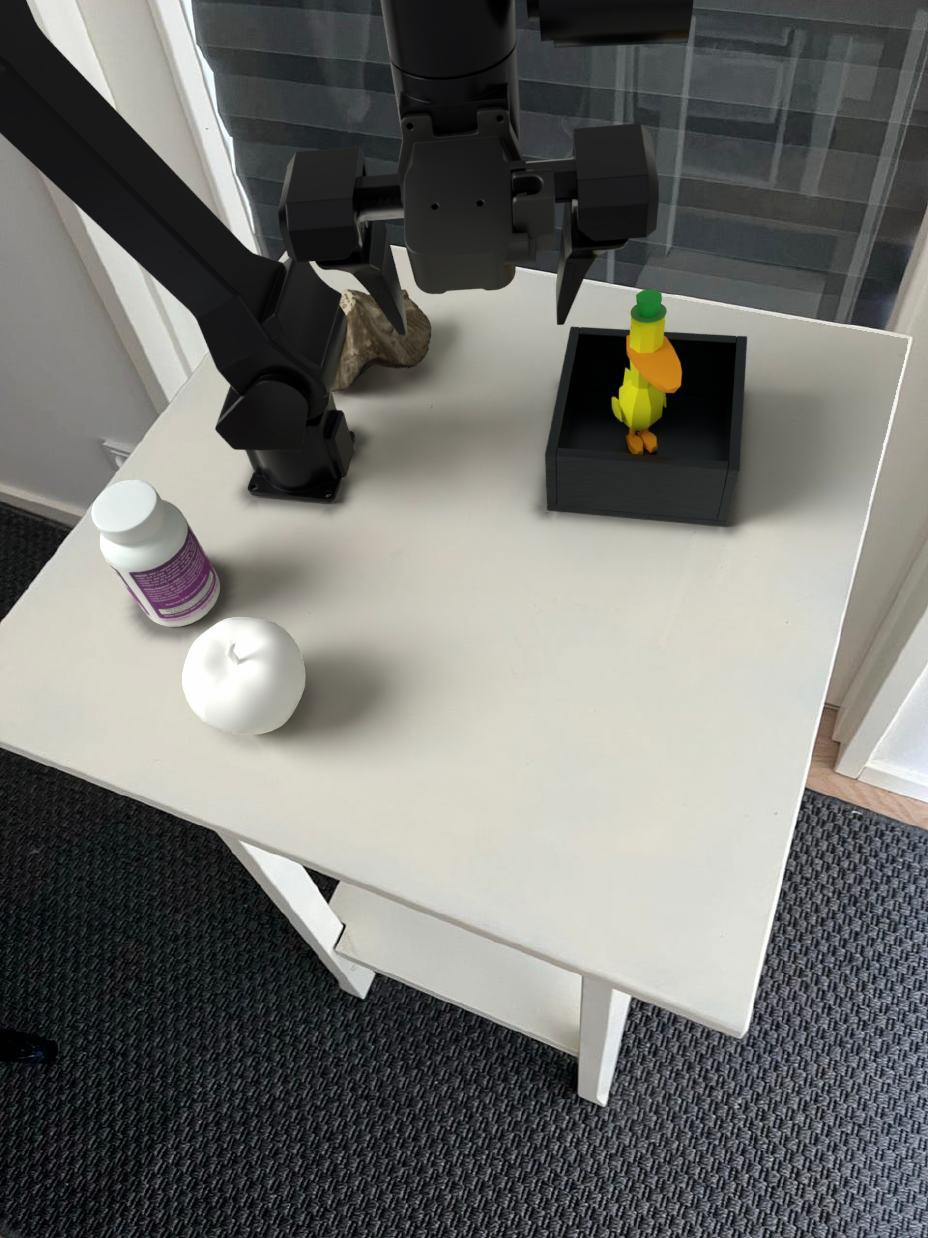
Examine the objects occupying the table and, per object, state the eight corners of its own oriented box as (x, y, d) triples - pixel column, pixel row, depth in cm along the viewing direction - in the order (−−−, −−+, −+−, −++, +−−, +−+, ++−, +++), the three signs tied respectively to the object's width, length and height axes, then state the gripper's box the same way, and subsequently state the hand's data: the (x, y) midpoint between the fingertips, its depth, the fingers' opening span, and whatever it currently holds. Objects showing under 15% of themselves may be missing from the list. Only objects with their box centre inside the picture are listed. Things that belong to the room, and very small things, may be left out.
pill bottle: (234, 570, 63) (184, 476, 55) (202, 636, 60) (145, 547, 52) (164, 557, 64) (105, 463, 56) (129, 621, 61) (62, 532, 53)
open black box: (546, 510, 63) (544, 454, 58) (570, 385, 69) (570, 325, 64) (726, 527, 61) (739, 470, 56) (735, 396, 67) (747, 335, 62)
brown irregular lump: (427, 288, 73) (308, 319, 75) (405, 257, 66) (275, 290, 68) (443, 382, 73) (324, 410, 75) (423, 360, 66) (292, 391, 68)
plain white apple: (276, 775, 55) (235, 715, 48) (183, 726, 57) (132, 662, 50) (341, 681, 57) (311, 612, 51) (250, 638, 60) (210, 566, 53)
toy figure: (686, 472, 63) (708, 332, 53) (637, 488, 63) (650, 350, 52) (645, 406, 66) (658, 263, 56) (598, 420, 66) (603, 279, 56)
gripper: (219, 168, 38) (310, 435, 51) (685, 130, 36) (655, 417, 49) (257, 29, 44) (329, 301, 57) (659, -10, 42) (638, 280, 55)
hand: (481, 325), depth 54 cm, fingers open, 9 cm apart
